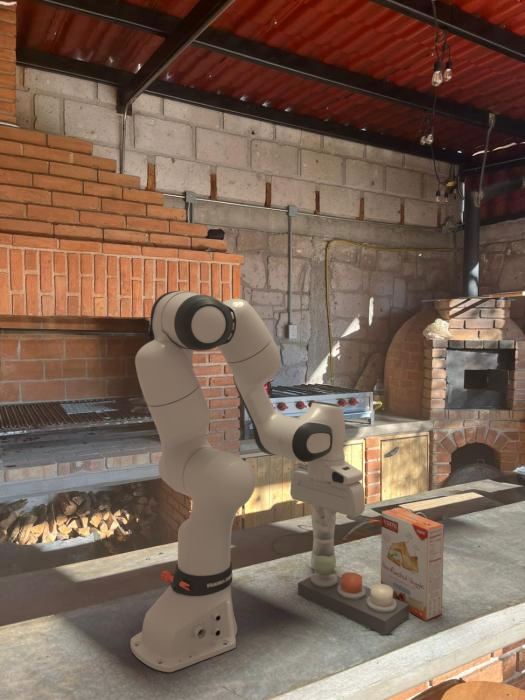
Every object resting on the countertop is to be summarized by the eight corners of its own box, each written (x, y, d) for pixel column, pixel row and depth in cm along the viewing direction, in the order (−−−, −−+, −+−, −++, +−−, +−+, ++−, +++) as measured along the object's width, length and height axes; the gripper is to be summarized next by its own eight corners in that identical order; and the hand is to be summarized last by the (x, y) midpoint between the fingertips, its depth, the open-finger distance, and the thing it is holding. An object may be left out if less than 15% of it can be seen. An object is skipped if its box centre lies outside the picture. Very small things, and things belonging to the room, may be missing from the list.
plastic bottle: (337, 576, 139) (338, 500, 138) (311, 575, 139) (312, 499, 139) (334, 565, 146) (335, 492, 145) (309, 565, 146) (310, 492, 145)
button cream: (385, 608, 115) (385, 596, 115) (366, 600, 118) (366, 588, 118) (396, 600, 118) (397, 588, 118) (378, 592, 122) (378, 581, 122)
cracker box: (378, 596, 129) (380, 510, 128) (396, 589, 132) (398, 506, 132) (424, 622, 117) (426, 528, 117) (443, 615, 120) (445, 523, 120)
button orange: (354, 595, 121) (354, 583, 120) (336, 587, 124) (337, 576, 124) (366, 588, 124) (366, 577, 124) (349, 581, 127) (349, 570, 127)
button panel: (384, 635, 112) (385, 616, 112) (297, 595, 129) (298, 578, 129) (408, 617, 119) (409, 599, 119) (323, 581, 136) (323, 566, 136)
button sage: (326, 577, 126) (326, 566, 126) (310, 570, 129) (310, 560, 129) (338, 570, 130) (338, 560, 129) (322, 564, 133) (322, 554, 133)
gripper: (285, 463, 134) (284, 517, 134) (353, 479, 119) (352, 540, 120) (301, 459, 138) (300, 512, 139) (369, 474, 124) (368, 533, 124)
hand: (325, 525), depth 129 cm, fingers closed
